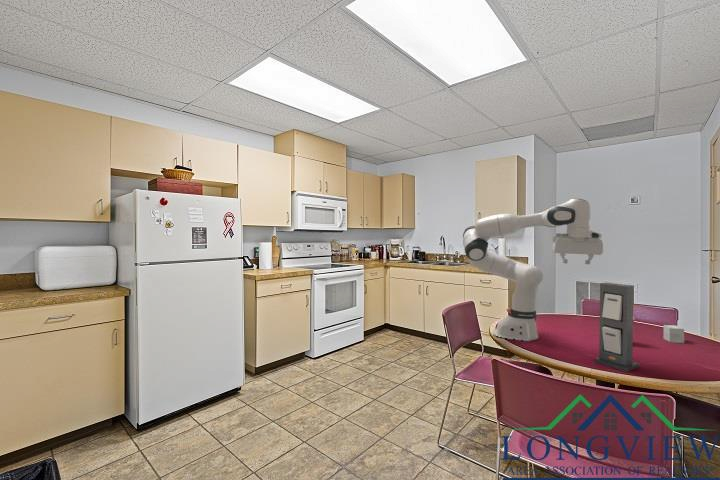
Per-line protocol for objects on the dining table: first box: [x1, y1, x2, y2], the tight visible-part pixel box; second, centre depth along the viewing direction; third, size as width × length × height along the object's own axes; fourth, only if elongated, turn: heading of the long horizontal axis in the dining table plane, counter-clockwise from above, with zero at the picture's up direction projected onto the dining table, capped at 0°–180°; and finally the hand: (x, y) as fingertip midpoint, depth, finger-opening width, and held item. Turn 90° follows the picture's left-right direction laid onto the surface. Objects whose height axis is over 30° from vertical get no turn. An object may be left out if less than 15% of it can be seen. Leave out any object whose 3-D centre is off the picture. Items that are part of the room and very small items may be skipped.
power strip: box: [594, 281, 640, 373], centre depth 142 cm, size 10×12×34 cm
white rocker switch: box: [602, 293, 623, 321], centre depth 140 cm, size 2×6×10 cm, turn 29°
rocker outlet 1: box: [602, 326, 622, 354], centre depth 141 cm, size 2×6×10 cm, turn 28°
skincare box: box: [663, 324, 685, 344], centre depth 171 cm, size 6×6×7 cm
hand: (576, 263), depth 157 cm, fingers open, 8 cm apart
